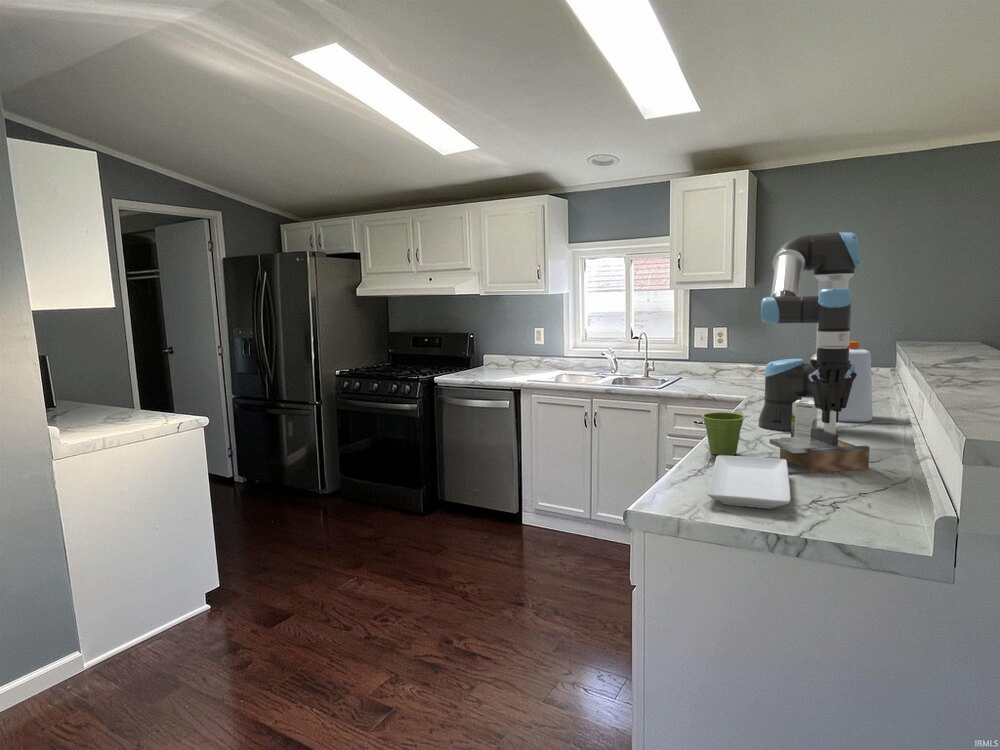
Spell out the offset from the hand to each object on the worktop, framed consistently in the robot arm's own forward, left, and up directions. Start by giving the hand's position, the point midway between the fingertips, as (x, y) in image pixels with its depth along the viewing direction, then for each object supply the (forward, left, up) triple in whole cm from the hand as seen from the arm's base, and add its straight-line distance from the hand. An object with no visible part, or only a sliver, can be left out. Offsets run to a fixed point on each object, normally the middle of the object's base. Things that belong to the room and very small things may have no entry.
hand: (829, 434), depth 161 cm
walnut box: (+2, 0, -8) cm, 8 cm away
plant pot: (+22, -16, -8) cm, 28 cm away
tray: (+32, +16, -8) cm, 37 cm away
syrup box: (-2, -15, -8) cm, 17 cm away
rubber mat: (+19, 0, -8) cm, 20 cm away
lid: (+7, 0, -3) cm, 8 cm away
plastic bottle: (-43, -52, -8) cm, 68 cm away
